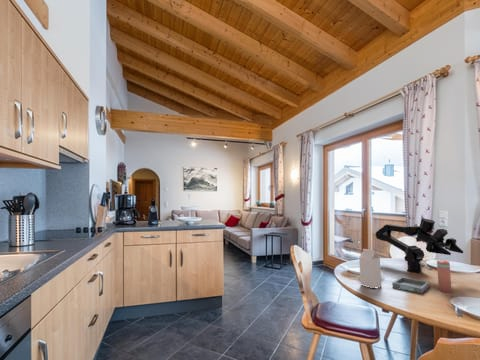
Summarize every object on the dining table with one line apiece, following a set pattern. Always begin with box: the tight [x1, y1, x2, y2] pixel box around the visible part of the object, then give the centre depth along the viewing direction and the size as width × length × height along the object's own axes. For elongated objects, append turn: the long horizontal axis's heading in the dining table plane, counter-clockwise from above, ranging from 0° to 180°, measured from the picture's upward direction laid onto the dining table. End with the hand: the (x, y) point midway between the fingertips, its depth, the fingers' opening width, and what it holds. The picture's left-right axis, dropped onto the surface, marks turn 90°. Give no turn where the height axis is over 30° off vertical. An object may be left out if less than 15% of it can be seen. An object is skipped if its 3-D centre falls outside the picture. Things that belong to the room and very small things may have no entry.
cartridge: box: [436, 260, 452, 293], centre depth 130 cm, size 5×5×14 cm
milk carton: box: [358, 248, 383, 288], centre depth 139 cm, size 7×7×19 cm
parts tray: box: [391, 276, 430, 295], centre depth 135 cm, size 13×13×2 cm
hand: (456, 253), depth 138 cm, fingers open, 9 cm apart
